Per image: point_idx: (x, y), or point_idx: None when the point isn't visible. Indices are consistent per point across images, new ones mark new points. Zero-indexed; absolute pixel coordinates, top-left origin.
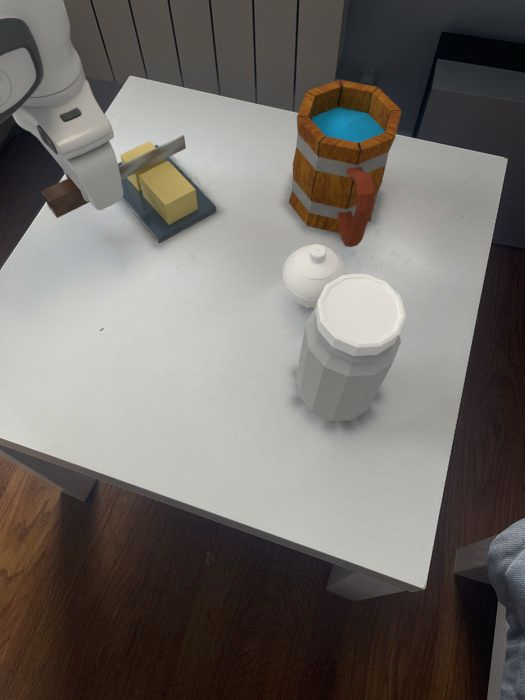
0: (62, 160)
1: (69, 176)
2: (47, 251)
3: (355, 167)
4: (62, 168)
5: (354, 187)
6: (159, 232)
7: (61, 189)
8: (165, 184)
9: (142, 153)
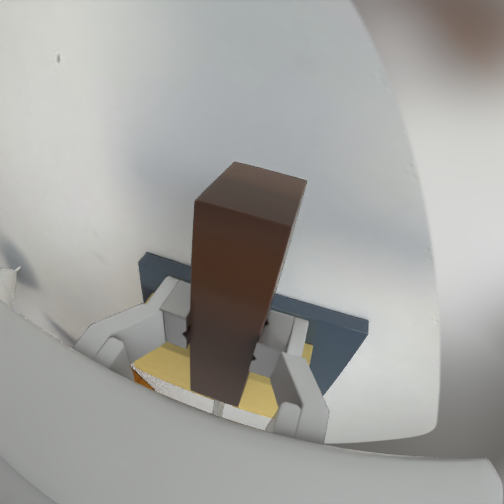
0: (35, 438)
1: (56, 366)
2: (300, 72)
3: None
4: (139, 394)
5: None
6: (147, 272)
7: (226, 281)
8: (169, 366)
9: (268, 404)
